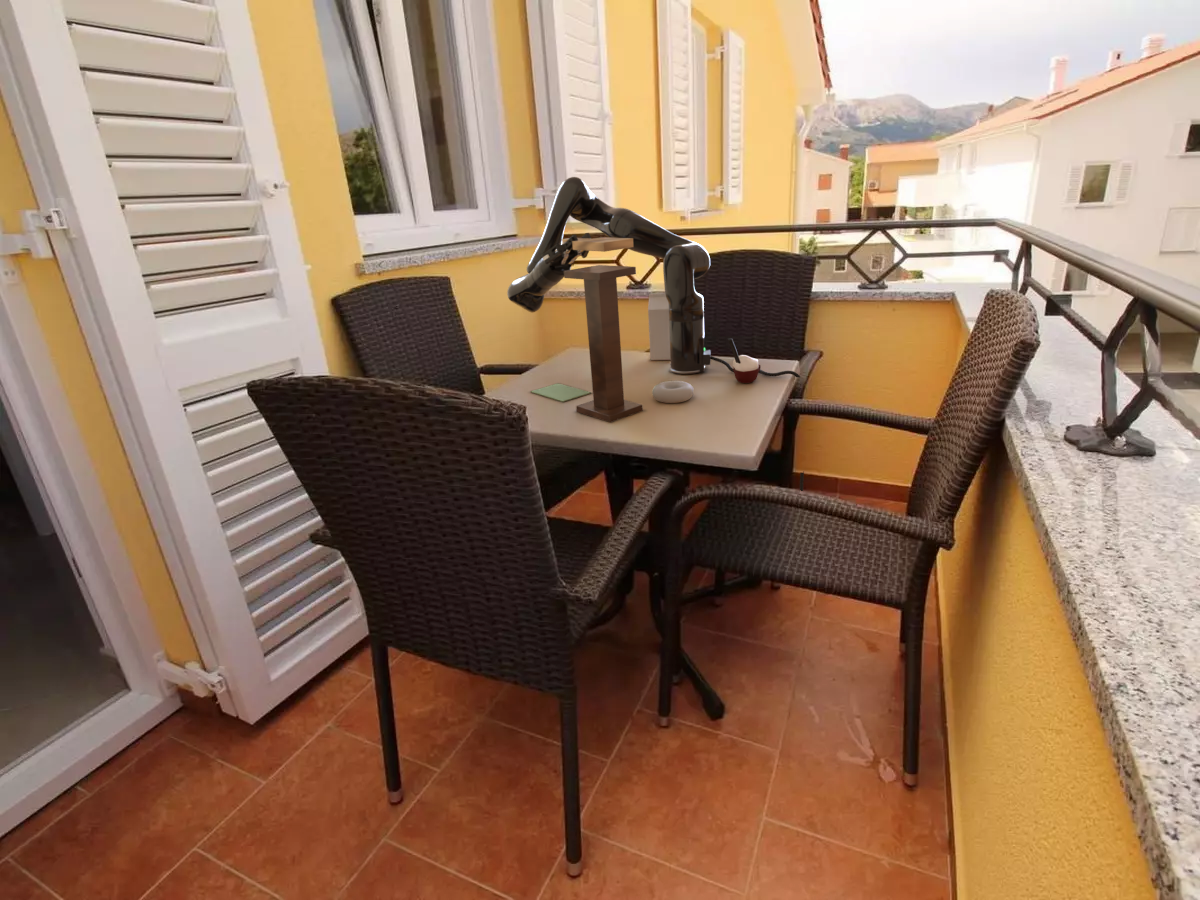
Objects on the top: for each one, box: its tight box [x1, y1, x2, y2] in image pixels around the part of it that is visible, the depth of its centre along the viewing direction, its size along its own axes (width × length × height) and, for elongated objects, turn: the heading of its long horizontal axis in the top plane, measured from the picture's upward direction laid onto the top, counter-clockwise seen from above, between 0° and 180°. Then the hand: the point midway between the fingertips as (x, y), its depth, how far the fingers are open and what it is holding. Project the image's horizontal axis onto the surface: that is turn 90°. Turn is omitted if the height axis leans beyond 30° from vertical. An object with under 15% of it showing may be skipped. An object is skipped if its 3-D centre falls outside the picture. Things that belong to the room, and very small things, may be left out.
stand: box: [563, 264, 644, 423], centre depth 139 cm, size 12×10×32 cm
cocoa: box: [727, 337, 762, 384], centre depth 157 cm, size 10×6×12 cm, turn 96°
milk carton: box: [647, 292, 670, 361], centre depth 184 cm, size 7×7×19 cm
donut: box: [651, 380, 695, 404], centre depth 150 cm, size 10×4×10 cm
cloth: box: [530, 382, 592, 403], centre depth 162 cm, size 14×9×1 cm, turn 40°
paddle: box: [562, 236, 633, 253], centre depth 152 cm, size 20×9×2 cm, turn 39°
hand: (582, 237), depth 154 cm, fingers closed on paddle, 3 cm apart
